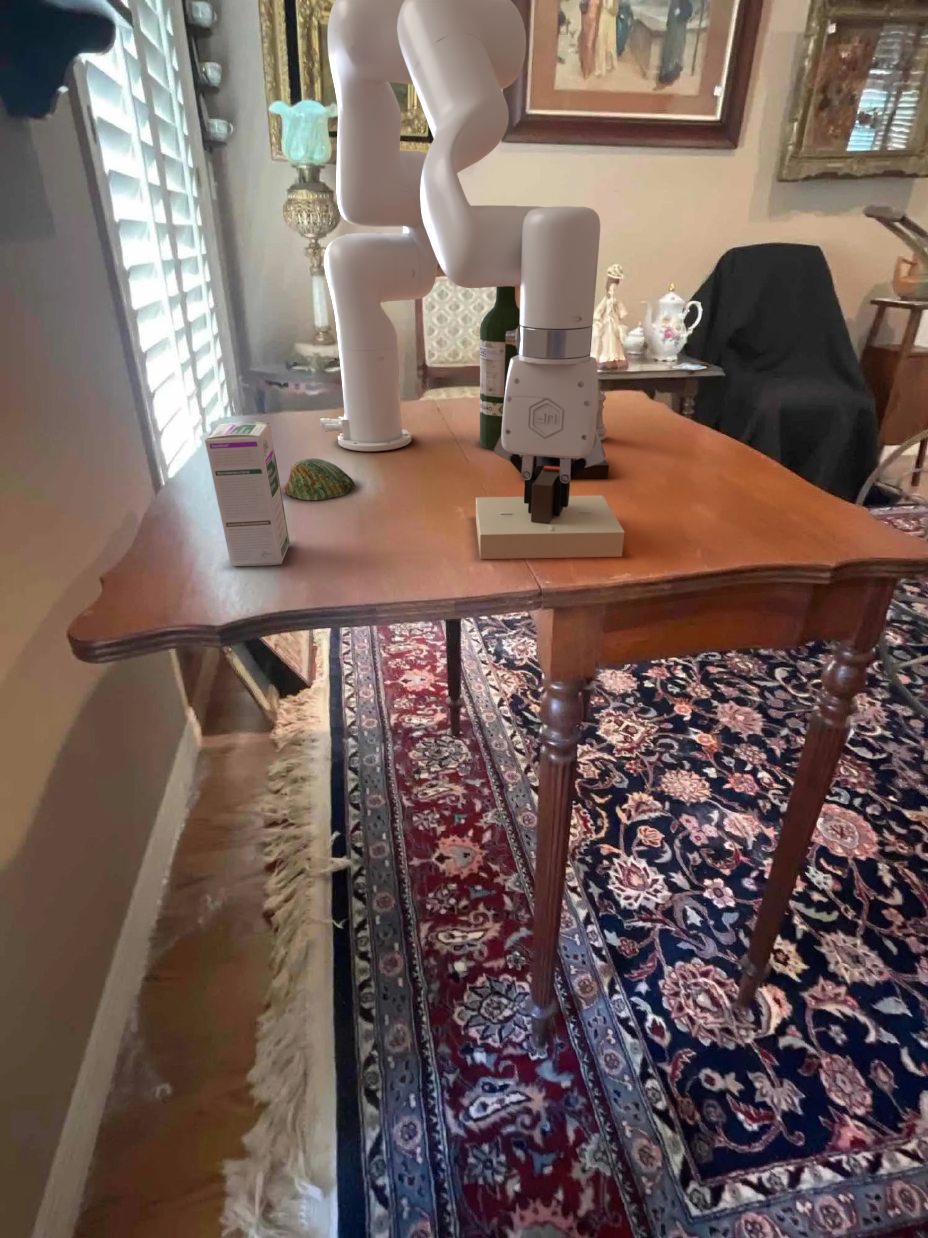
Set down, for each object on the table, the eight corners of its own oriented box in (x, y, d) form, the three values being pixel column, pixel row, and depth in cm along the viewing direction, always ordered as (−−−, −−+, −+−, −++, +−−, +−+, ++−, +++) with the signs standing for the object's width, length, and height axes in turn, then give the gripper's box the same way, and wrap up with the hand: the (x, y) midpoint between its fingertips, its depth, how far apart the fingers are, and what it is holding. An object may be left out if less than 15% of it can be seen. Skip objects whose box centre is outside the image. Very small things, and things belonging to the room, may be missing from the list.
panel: (480, 559, 77) (480, 533, 76) (475, 519, 88) (475, 495, 86) (621, 556, 78) (624, 530, 76) (600, 517, 88) (603, 493, 87)
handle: (549, 524, 78) (551, 483, 76) (530, 522, 79) (532, 481, 76) (559, 504, 84) (562, 466, 81) (542, 502, 84) (544, 464, 82)
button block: (526, 480, 101) (527, 453, 99) (519, 460, 110) (520, 435, 108) (607, 479, 101) (610, 452, 99) (594, 459, 110) (596, 434, 108)
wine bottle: (470, 444, 118) (469, 245, 103) (503, 436, 122) (507, 243, 107) (502, 454, 113) (506, 245, 98) (535, 445, 117) (544, 244, 102)
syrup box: (283, 565, 76) (263, 434, 69) (228, 567, 76) (203, 435, 69) (290, 544, 81) (272, 420, 74) (239, 546, 81) (216, 421, 74)
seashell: (306, 474, 91) (266, 459, 97) (308, 504, 92) (269, 488, 99) (367, 464, 97) (326, 450, 103) (368, 492, 99) (327, 477, 105)
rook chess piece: (607, 442, 118) (612, 394, 114) (581, 442, 118) (585, 394, 114) (603, 435, 122) (608, 389, 118) (578, 435, 122) (582, 389, 118)
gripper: (471, 346, 71) (471, 515, 80) (629, 352, 67) (611, 529, 76) (489, 336, 77) (488, 494, 86) (636, 341, 73) (618, 506, 82)
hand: (545, 509), depth 81 cm, fingers closed on handle, 2 cm apart
